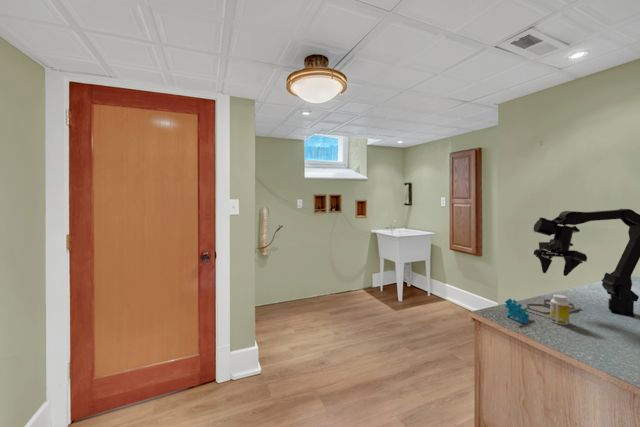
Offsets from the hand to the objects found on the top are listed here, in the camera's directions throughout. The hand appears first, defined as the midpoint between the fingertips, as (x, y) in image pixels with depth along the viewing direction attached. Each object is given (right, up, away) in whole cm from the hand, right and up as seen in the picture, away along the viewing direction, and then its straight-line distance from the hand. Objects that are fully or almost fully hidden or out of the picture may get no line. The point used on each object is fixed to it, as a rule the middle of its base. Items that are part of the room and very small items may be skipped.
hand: (554, 274), depth 118 cm
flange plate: (+1, -16, +3) cm, 16 cm away
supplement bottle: (-6, -17, -10) cm, 20 cm away
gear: (-20, -17, -7) cm, 27 cm away
